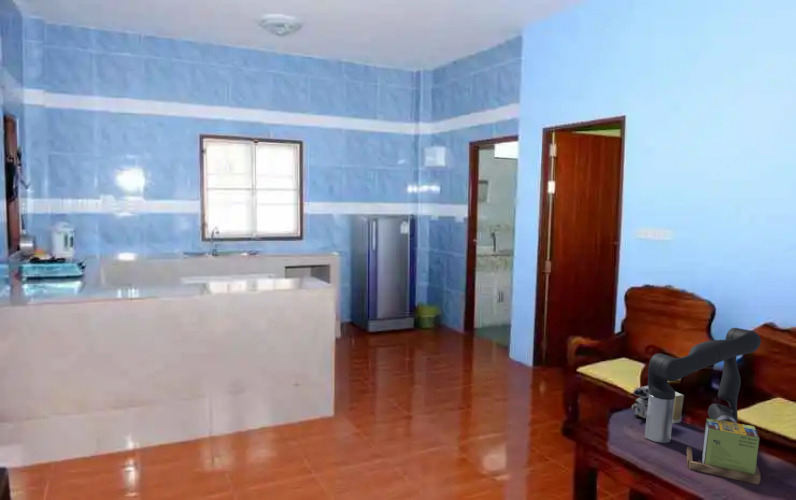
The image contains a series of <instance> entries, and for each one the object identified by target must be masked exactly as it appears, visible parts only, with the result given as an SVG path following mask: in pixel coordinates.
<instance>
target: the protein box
mask: <svg viewBox="0 0 796 500" xmlns="http://www.w3.org/2000/svg"><path fill="white" fill-rule="evenodd" d="M759 445H760V435H759V434H758V431H757V430H756V427H755V426H753V425H749V424H743V423H741V424H740V423H739V422H738V423H737V422H736V423H732V422H726V421H720V420H715V419H710V418H707V417H706V418H705V425H704V435H703V445H702V451H701V452H702V453H701V461H702V462H701V463H704V464H708V465H713V466H717V467H722V468H726V469H731V470H736V471H740V472H745V473H749V474H754V475H755V469H756V463H757V461H758V452H759Z"/></svg>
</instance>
